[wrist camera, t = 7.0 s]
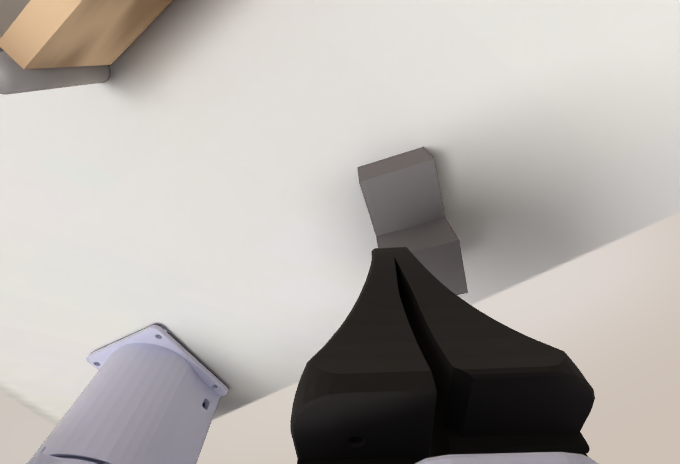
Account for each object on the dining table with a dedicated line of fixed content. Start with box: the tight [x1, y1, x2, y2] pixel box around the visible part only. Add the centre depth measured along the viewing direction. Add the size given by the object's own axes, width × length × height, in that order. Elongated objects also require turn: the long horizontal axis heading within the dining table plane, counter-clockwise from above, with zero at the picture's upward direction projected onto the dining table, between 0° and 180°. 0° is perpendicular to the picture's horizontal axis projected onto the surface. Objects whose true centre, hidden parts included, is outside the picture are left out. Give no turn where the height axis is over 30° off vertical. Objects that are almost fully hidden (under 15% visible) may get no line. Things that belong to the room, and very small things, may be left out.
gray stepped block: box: [358, 147, 468, 295], centre depth 18 cm, size 7×4×5 cm, turn 18°
